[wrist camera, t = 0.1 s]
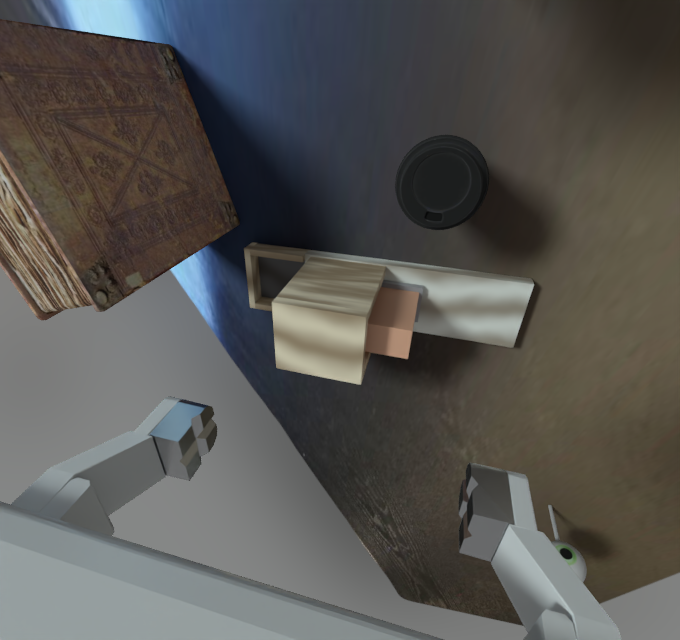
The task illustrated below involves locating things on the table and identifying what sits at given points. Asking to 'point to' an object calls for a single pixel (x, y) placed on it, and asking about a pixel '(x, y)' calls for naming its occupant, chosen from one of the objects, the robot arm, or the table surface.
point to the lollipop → (568, 551)
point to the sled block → (393, 319)
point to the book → (99, 167)
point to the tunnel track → (370, 305)
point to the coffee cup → (442, 182)
